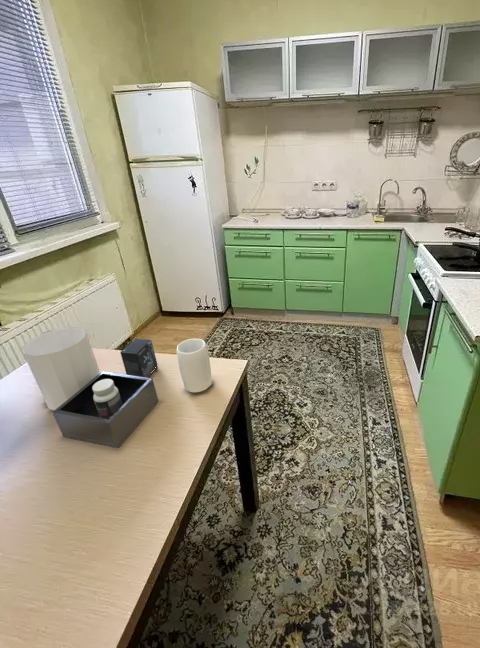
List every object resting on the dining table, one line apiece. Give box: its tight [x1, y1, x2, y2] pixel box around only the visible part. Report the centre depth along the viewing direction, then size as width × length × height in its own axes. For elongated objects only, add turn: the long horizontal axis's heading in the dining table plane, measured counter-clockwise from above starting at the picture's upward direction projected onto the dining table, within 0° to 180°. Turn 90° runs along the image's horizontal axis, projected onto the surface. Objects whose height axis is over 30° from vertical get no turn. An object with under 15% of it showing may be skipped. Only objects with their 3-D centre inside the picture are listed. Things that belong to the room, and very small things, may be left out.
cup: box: [176, 338, 213, 393], centre depth 92 cm, size 8×8×14 cm
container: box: [21, 326, 101, 411], centre depth 90 cm, size 14×14×18 cm
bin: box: [51, 370, 159, 449], centre depth 83 cm, size 16×16×8 cm
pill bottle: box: [92, 379, 123, 419], centre depth 82 cm, size 6×6×10 cm
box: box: [120, 338, 159, 378], centre depth 99 cm, size 8×6×11 cm
